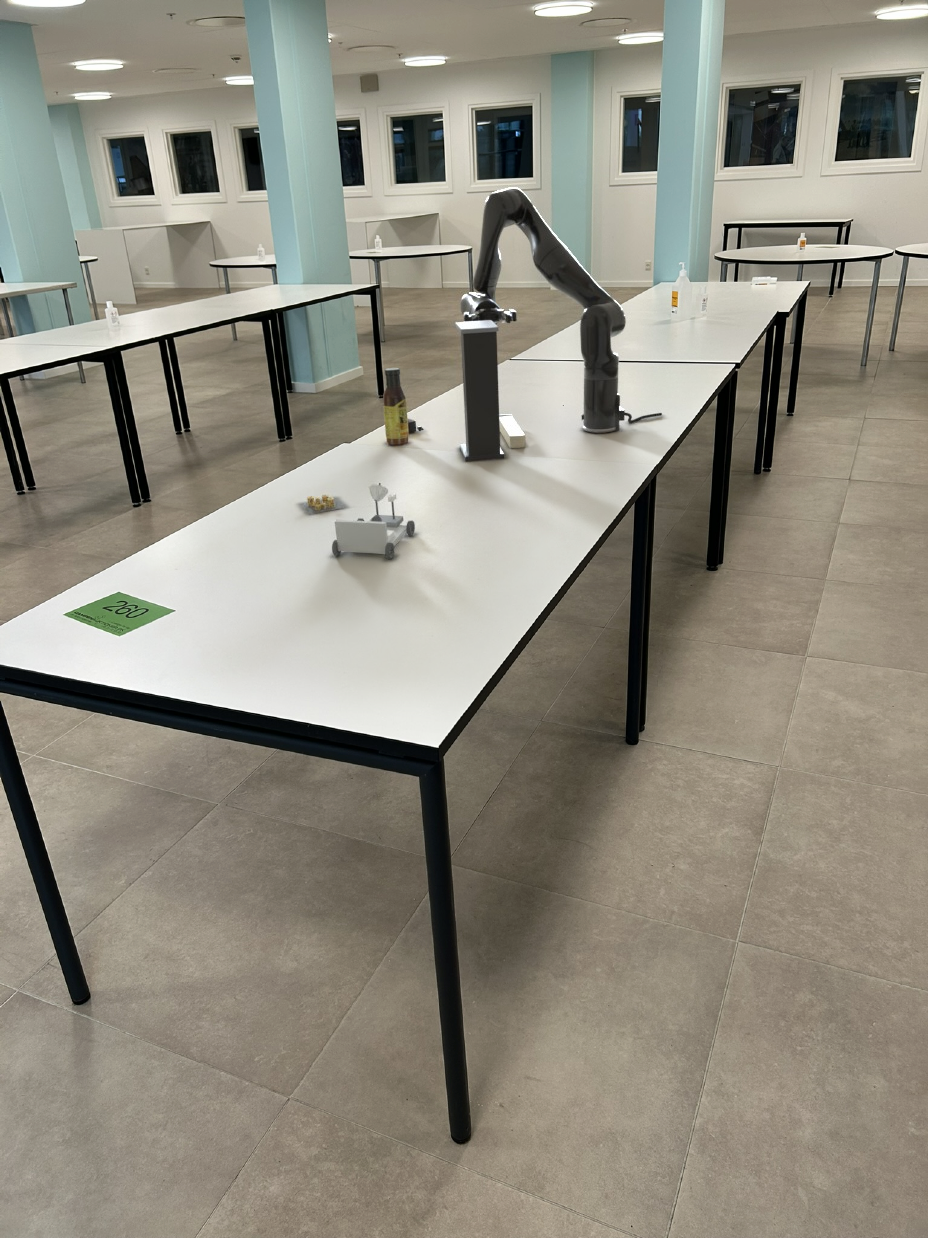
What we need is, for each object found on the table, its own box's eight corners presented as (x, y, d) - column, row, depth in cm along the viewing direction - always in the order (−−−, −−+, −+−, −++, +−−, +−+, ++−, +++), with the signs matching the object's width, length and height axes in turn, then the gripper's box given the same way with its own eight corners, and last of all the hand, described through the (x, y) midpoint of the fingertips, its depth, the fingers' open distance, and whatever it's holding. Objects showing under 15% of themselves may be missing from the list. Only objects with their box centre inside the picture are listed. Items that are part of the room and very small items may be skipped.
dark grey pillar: (497, 445, 238) (493, 319, 225) (504, 458, 227) (500, 326, 213) (459, 448, 238) (453, 322, 224) (465, 461, 226) (458, 329, 212)
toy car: (361, 479, 182) (416, 481, 179) (366, 525, 186) (419, 528, 183) (326, 508, 167) (385, 511, 164) (332, 557, 171) (389, 561, 168)
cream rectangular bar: (511, 425, 257) (511, 413, 256) (525, 447, 236) (525, 434, 234) (497, 426, 257) (496, 414, 256) (509, 448, 235) (509, 435, 234)
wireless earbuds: (411, 434, 254) (410, 423, 252) (396, 430, 259) (395, 419, 257) (424, 431, 256) (423, 419, 255) (410, 427, 261) (409, 416, 260)
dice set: (307, 504, 201) (306, 496, 200) (329, 501, 202) (328, 492, 202) (313, 511, 196) (312, 502, 196) (335, 507, 198) (334, 499, 197)
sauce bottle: (405, 446, 242) (400, 371, 234) (383, 445, 244) (377, 371, 235) (412, 439, 248) (406, 366, 240) (390, 439, 249) (384, 366, 241)
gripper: (459, 300, 251) (466, 306, 237) (509, 296, 252) (519, 303, 238) (460, 328, 254) (467, 336, 240) (510, 324, 255) (520, 332, 241)
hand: (493, 320), depth 239 cm, fingers open, 8 cm apart
